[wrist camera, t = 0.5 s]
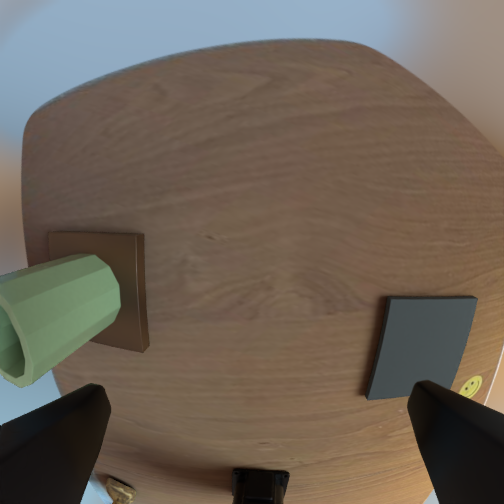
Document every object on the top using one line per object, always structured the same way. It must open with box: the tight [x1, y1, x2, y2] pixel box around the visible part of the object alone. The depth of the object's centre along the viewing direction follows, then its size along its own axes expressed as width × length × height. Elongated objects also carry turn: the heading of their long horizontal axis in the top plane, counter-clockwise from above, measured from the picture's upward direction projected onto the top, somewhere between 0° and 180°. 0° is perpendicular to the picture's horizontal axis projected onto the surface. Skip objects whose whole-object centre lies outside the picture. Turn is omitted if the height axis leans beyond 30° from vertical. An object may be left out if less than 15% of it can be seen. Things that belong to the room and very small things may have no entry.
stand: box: [48, 231, 149, 353], centre depth 20 cm, size 10×10×6 cm
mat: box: [365, 296, 478, 400], centre depth 21 cm, size 10×10×1 cm
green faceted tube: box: [0, 253, 121, 388], centre depth 16 cm, size 7×7×11 cm
